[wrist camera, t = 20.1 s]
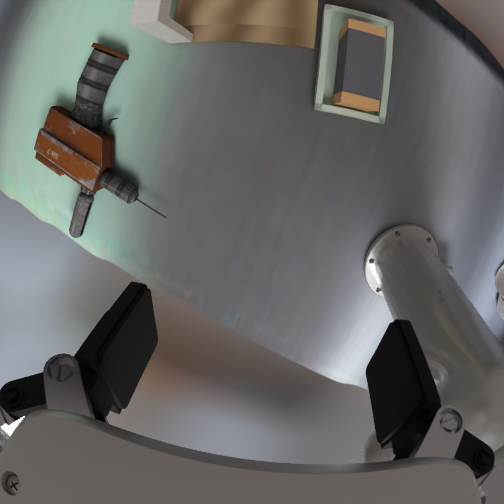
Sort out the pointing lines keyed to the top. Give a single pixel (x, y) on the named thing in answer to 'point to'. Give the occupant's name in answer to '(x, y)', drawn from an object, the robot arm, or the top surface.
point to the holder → (250, 21)
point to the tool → (86, 139)
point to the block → (359, 66)
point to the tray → (327, 62)
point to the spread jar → (500, 291)
